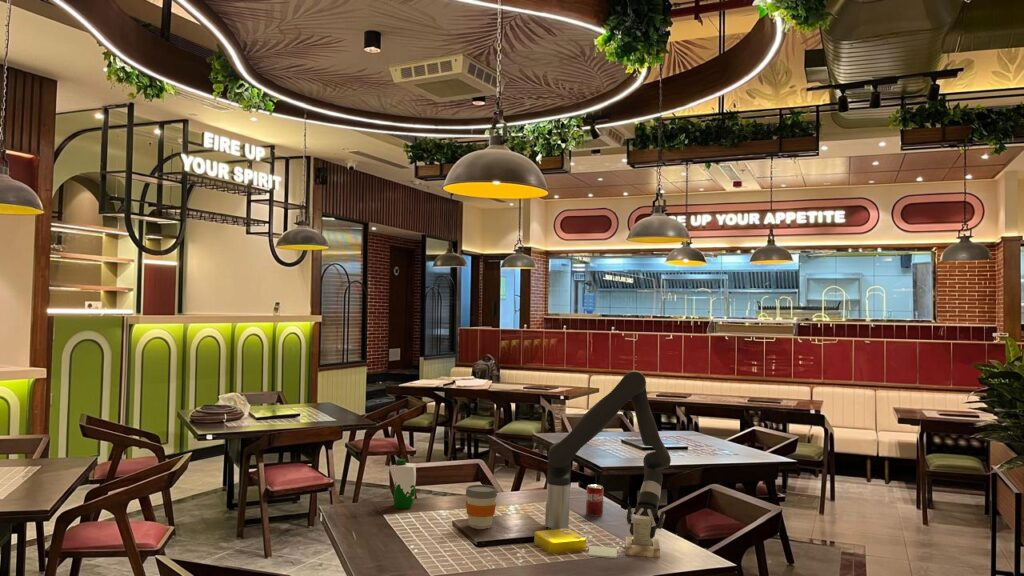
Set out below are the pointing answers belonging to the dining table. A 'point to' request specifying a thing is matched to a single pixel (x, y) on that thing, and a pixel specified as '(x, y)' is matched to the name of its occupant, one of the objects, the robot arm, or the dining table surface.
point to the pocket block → (642, 548)
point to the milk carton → (404, 484)
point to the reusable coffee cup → (480, 504)
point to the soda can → (594, 500)
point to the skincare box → (642, 530)
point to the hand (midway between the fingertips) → (641, 535)
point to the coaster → (602, 552)
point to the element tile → (559, 541)
